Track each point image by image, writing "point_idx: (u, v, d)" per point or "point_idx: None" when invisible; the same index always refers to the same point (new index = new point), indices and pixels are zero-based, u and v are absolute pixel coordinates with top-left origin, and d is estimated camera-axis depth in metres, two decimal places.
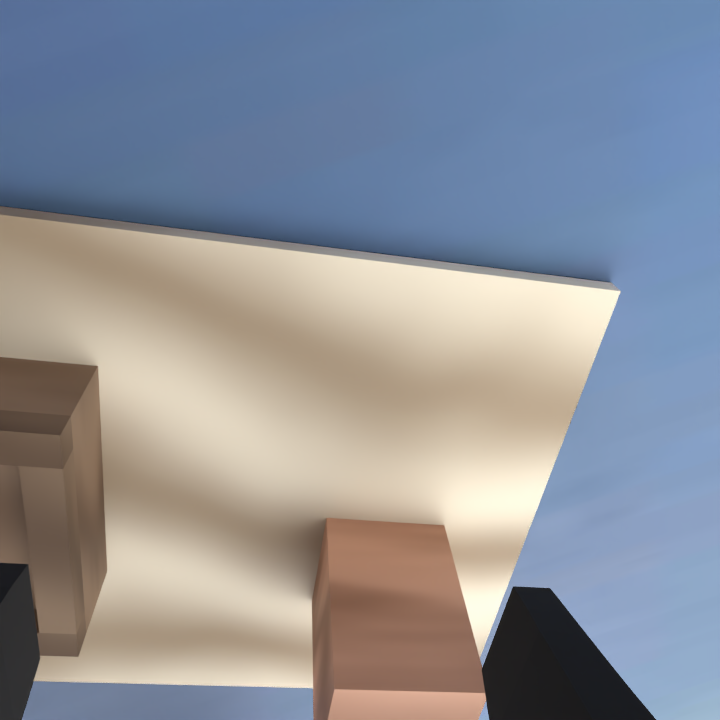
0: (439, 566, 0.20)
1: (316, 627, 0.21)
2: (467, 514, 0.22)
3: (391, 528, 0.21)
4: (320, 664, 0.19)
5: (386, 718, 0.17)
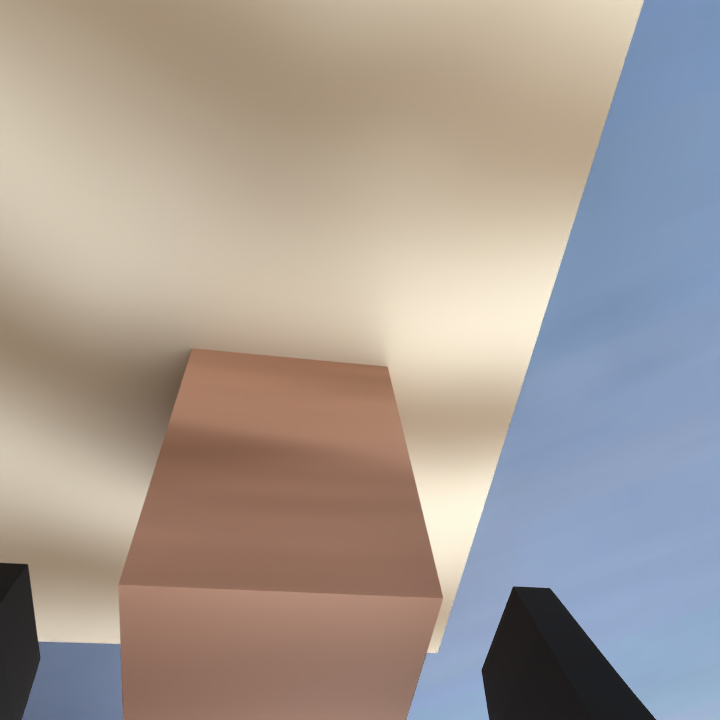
0: (372, 413, 0.12)
1: None
2: (424, 346, 0.13)
3: (298, 365, 0.13)
4: None
5: (243, 652, 0.08)
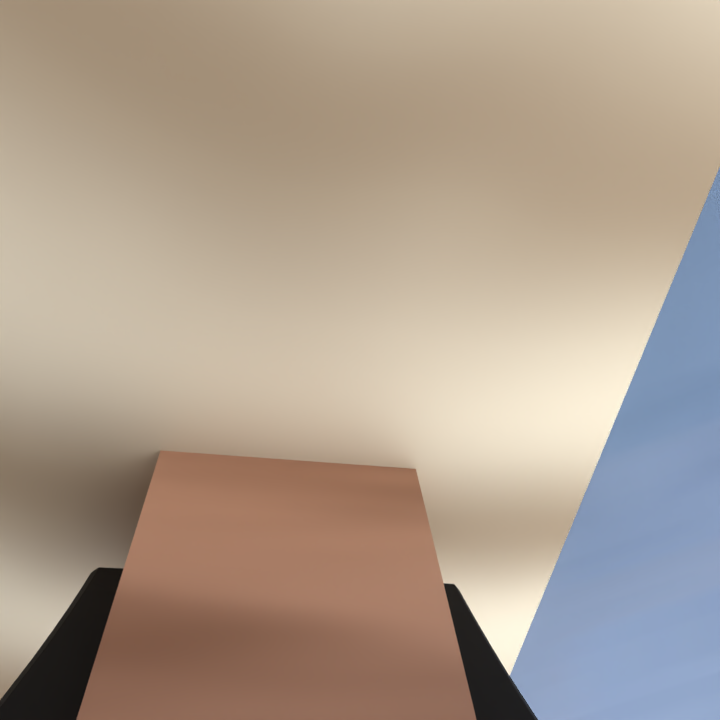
0: (399, 552, 0.09)
1: None
2: (464, 444, 0.10)
3: (300, 472, 0.10)
4: None
5: None
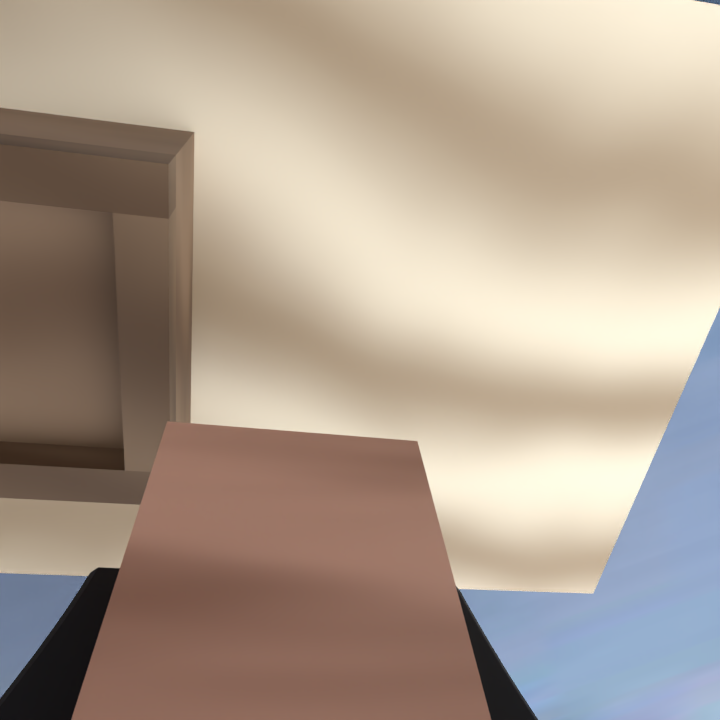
0: (401, 516, 0.09)
1: None
2: (620, 351, 0.18)
3: (304, 443, 0.10)
4: None
5: None
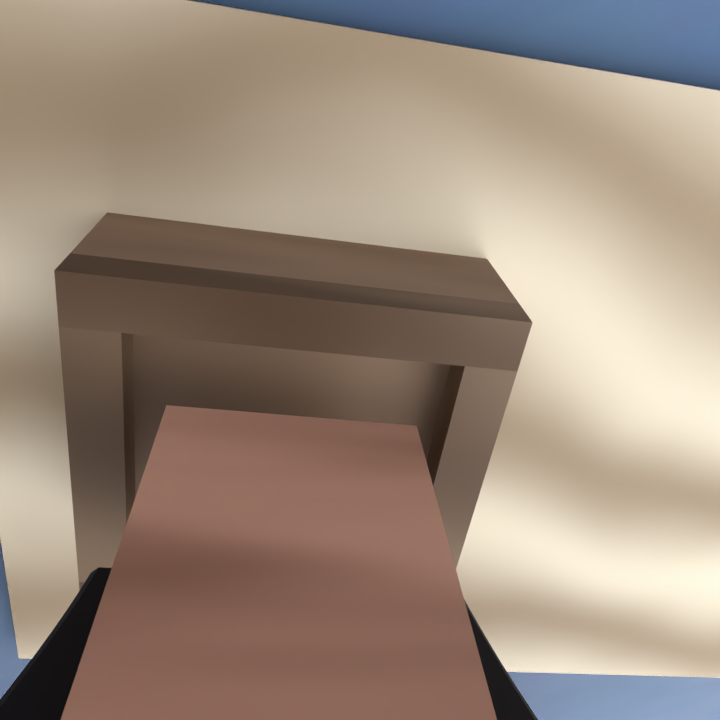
0: (400, 498, 0.09)
1: None
2: None
3: (303, 427, 0.10)
4: None
5: None
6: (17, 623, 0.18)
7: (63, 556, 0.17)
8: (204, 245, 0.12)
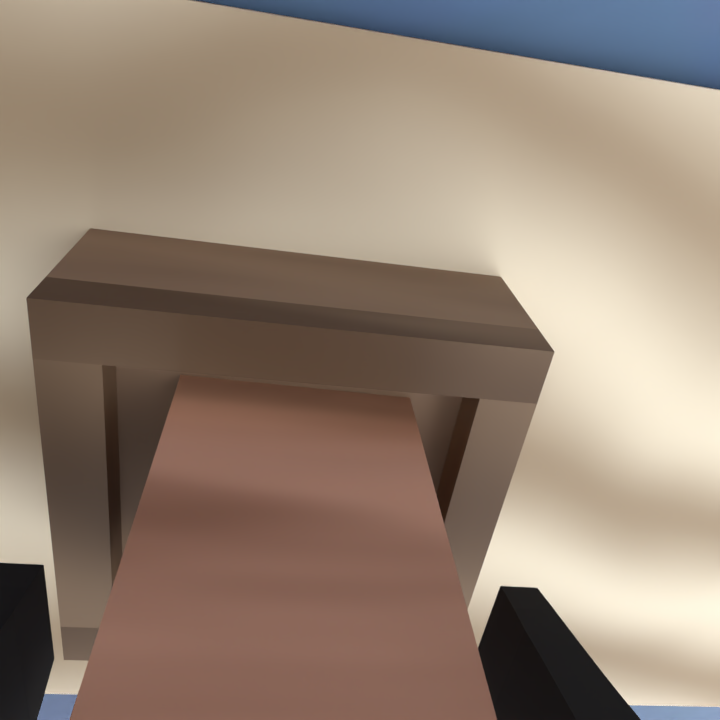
0: (394, 459, 0.10)
1: None
2: None
3: (306, 396, 0.11)
4: None
5: None
6: None
7: (48, 588, 0.16)
8: (195, 265, 0.11)
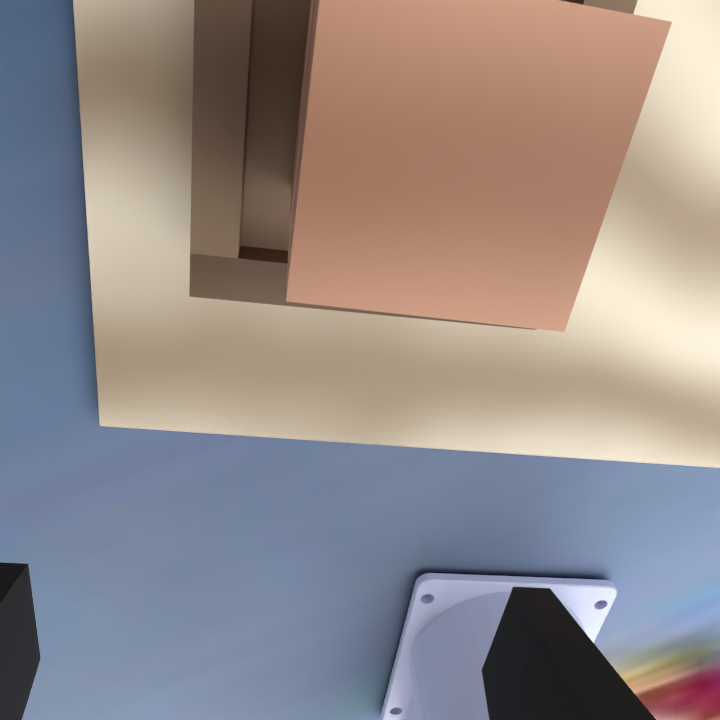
0: None
1: (296, 153, 0.12)
2: None
3: None
4: (300, 138, 0.10)
5: (442, 95, 0.08)
6: (101, 382, 0.19)
7: (151, 300, 0.17)
8: None
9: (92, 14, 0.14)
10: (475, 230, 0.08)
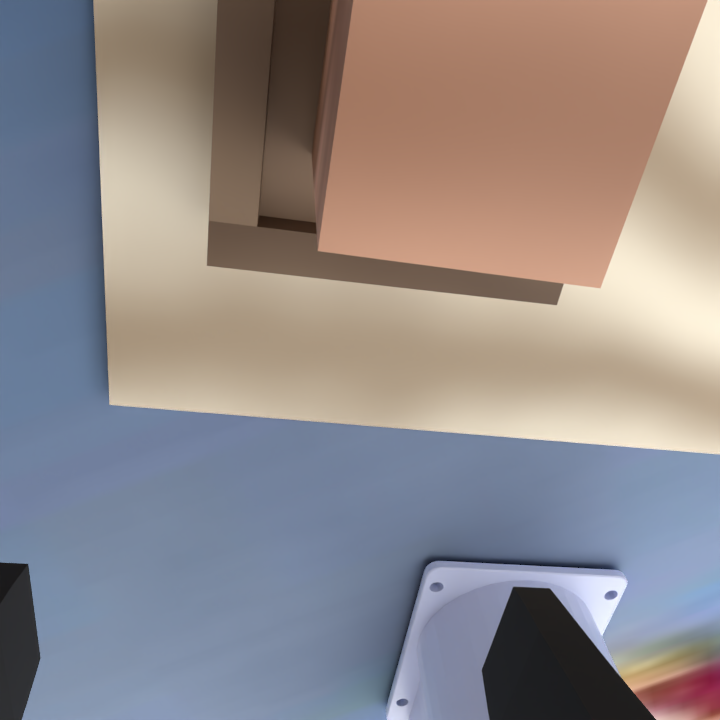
0: None
1: (320, 114, 0.11)
2: None
3: None
4: (330, 91, 0.10)
5: (485, 32, 0.07)
6: (111, 360, 0.18)
7: (164, 275, 0.17)
8: None
9: None
10: (513, 178, 0.08)
